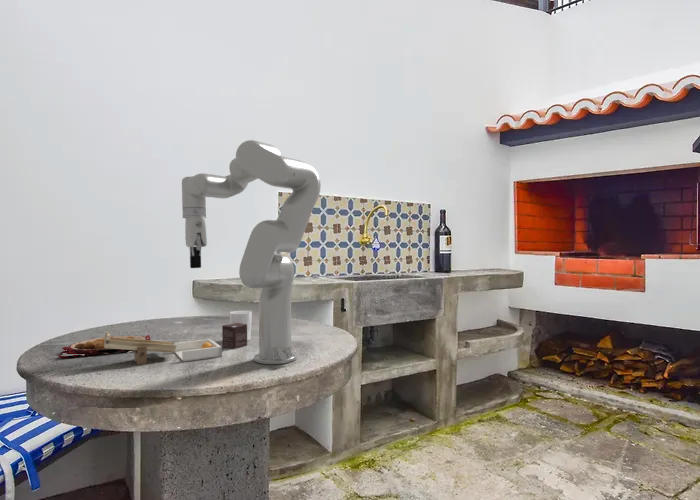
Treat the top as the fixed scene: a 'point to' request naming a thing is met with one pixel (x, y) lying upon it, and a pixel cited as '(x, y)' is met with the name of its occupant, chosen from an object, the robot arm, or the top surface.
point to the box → (234, 335)
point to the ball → (206, 345)
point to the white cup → (242, 320)
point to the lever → (138, 344)
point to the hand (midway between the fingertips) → (195, 267)
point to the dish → (197, 350)
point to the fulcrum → (140, 355)
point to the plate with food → (94, 346)
